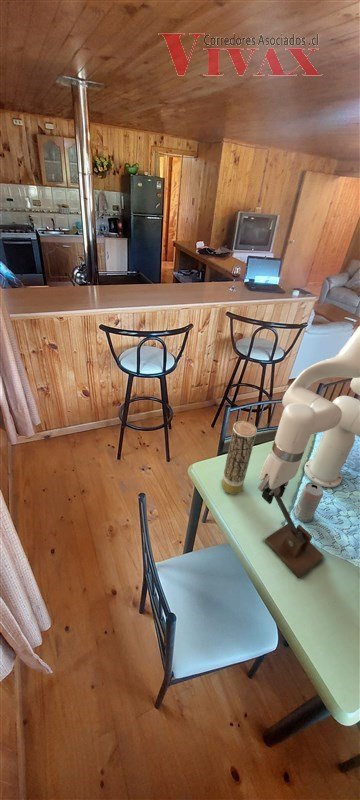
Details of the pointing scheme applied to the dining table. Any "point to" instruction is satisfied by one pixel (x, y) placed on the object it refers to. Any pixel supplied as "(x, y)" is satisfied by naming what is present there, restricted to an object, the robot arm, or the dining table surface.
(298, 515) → the energy drink
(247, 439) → the wooden log
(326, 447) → the robot arm
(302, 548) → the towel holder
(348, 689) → the dining table surface
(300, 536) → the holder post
